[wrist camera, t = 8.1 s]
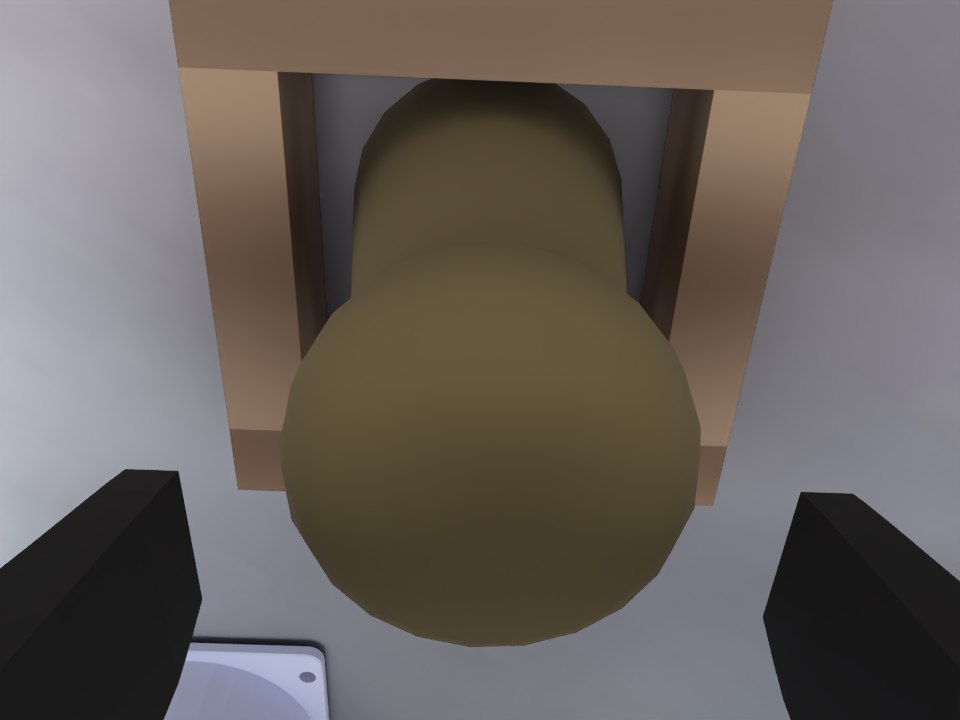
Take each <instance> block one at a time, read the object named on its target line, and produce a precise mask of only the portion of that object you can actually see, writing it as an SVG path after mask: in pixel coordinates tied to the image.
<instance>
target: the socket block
mask: <svg viewBox="0 0 960 720" xmlns="http://www.w3.org/2000/svg"><path fill="white" fill-rule="evenodd" d="M169 4H170V11H171V18H172V26H173V33H174V40H175V47H176V54H177V61H178V68H179V75H180V82H181V89H182V96H183V103H184V110H185V117H186V125H187V132H188V139H189V146H190V153H191V160H192V167H193V174H194V181H195V188H196V195H197V202H198V209H199V217H200V224H201V231H202V238H203V245H204V252H205V259H206V266H207V273H208V280H209V287H210V294H211V301H212V308H213V316H214V323H215V330H216V337H217V344H218V351H219V358H220V365H221V372H222V379H223V386H224V393H225V400H226V408H227V415H228V422H229V429H230V436H231V443H232V450H233V457H234V464H235V471H236V478H237V485H238V490H267V491H286V489H285V485H284V480H283V475H282V470H281V447H280V440H281V434H282V429H283V424H284V419H285V413H286V408H287V403H288V397H289V392H290V387H291V385H292V382H293V380H294V377H295V375H296V373H297V370H298V368H299V366H300V363H301V361H302V360H303V358H304V357H305V355H306V354H307V352H308V350H309V349H310V347H311V346H312V344H313V343H314V341H315V340H316V338H317V336H318V335H319V333H320V332H321V330H322V329H323V327H324V325H325V324H326V322H327V312H326V296H325V280H324V264H323V248H322V232H321V216H320V200H319V184H318V168H317V152H316V136H315V120H314V104H313V88H312V73H324V74H348V75H371V76H395V77H419V78H442V79H466V80H490V81H514V82H537V83H561V84H585V85H608V86H632V87H656V88H674V92H673V98H672V105H671V111H670V118H669V124H668V131H667V137H666V144H665V150H664V156H663V163H662V169H661V176H660V182H659V189H658V195H657V202H656V208H655V214H654V221H653V227H652V234H651V240H650V247H649V253H648V260H647V266H646V272H645V279H644V285H643V292H642V298H641V307H642V308H643V309H644V310H645V312H646V313H647V314H648V316H649V317H650V318H651V320H652V321H653V322H654V323H655V325H656V326H657V327H658V329H659V330H660V331H661V332H662V334H663V335H664V336H665V338H666V339H667V340H668V342H669V343H670V344H671V345H672V347H673V348H674V349H675V352H676V354H677V356H678V358H679V361H680V363H681V365H682V367H683V369H684V372H685V374H686V377H687V381H688V384H689V388H690V391H691V395H692V398H693V402H694V405H695V409H696V412H697V416H698V419H699V423H700V426H701V446H700V463H699V472H698V480H697V489H696V498H695V505H706V506H713V503H714V499H715V495H716V491H717V487H718V482H719V478H720V474H721V470H722V466H723V461H724V457H725V453H726V449H727V445H728V440H729V436H730V432H731V428H732V424H733V420H734V415H735V411H736V407H737V403H738V399H739V394H740V390H741V386H742V382H743V378H744V373H745V369H746V365H747V361H748V357H749V352H750V348H751V344H752V340H753V336H754V331H755V327H756V323H757V319H758V315H759V311H760V306H761V302H762V298H763V294H764V290H765V285H766V281H767V277H768V273H769V269H770V264H771V260H772V256H773V252H774V248H775V243H776V239H777V235H778V231H779V227H780V223H781V218H782V214H783V210H784V206H785V202H786V197H787V193H788V189H789V185H790V181H791V176H792V172H793V168H794V164H795V160H796V155H797V151H798V147H799V143H800V139H801V135H802V130H803V126H804V122H805V118H806V114H807V109H808V105H809V101H810V97H811V93H812V88H813V84H814V80H815V76H816V72H817V67H818V63H819V59H820V55H821V51H822V46H823V42H824V38H825V34H826V30H827V26H828V21H829V17H830V13H831V9H832V5H833V0H169Z"/></svg>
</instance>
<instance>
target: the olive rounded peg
mask: <svg viewBox="0 0 960 720" xmlns="http://www.w3.org/2000/svg"><path fill="white" fill-rule="evenodd" d="M700 446H701V426H700V423H699V419H698V416H697V412H696V409H695V405H694V402H693V398H692V395H691V391H690V388H689V384H688V381H687V377H686V374H685V372H684V369H683V367H682V365H681V363H680V361H679V358H678V356H677V354H676V352H675V349H674V348H673V347H672V345H671V344H670V343H669V342H668V340H667V339H666V338H665V336H664V335H663V334H662V332H661V331H660V330H659V329H658V327H657V326H656V325H655V323H654V322H653V321H652V320H651V318H650V317H649V316H648V314H647V313H646V312H645V310H644V309H643V308H642V307H641V305H640V304H639V303H638V302H637V301H636V300H635V299H633V298H632V297H631V296H629V295H628V294H627V285H626V266H625V247H624V227H623V208H622V188H621V177H620V174H619V171H618V167H617V164H616V160H615V157H614V153H613V150H612V147H611V143H610V140H609V138H608V137H607V135H606V134H605V132H604V131H603V130H602V128H601V127H600V125H599V124H598V123H597V121H596V120H595V118H594V117H593V116H592V114H591V113H590V111H589V110H588V109H587V107H586V106H585V104H583V103H582V102H580V101H579V100H578V99H576V98H575V97H573V96H572V95H571V94H569V93H568V92H566V91H565V90H564V89H562V88H561V87H559V86H558V85H557V84H555V83H537V82H514V81H490V80H466V79H442V78H433V79H431V80H428V81H425V82H423V83H420V84H418V85H417V86H415V87H414V88H413V89H412V90H411V91H410V92H408V93H407V94H406V95H405V96H404V97H402V98H401V99H400V100H399V101H398V102H397V103H395V104H394V105H393V106H392V107H391V108H390V109H388V110H387V111H386V112H385V113H384V114H383V116H382V118H381V119H380V121H379V123H378V124H377V126H376V128H375V129H374V131H373V133H372V135H371V136H370V138H369V140H368V141H367V143H366V145H365V146H364V148H363V150H362V155H361V160H360V165H359V170H358V174H357V179H356V184H355V189H354V215H353V246H352V277H351V298H350V299H349V300H348V301H347V302H345V303H344V304H343V305H342V306H341V307H339V308H338V309H337V310H336V311H335V312H333V313H332V315H331V316H330V318H329V319H328V321H327V322H326V324H325V325H324V327H323V329H322V330H321V332H320V333H319V335H318V336H317V338H316V340H315V341H314V343H313V344H312V346H311V347H310V349H309V350H308V352H307V354H306V355H305V357H304V358H303V360H302V361H301V363H300V366H299V368H298V370H297V373H296V375H295V377H294V380H293V382H292V385H291V387H290V392H289V397H288V403H287V408H286V413H285V419H284V424H283V429H282V434H281V440H280V447H281V470H282V475H283V480H284V485H285V489H286V494H287V499H288V504H289V509H290V513H291V518H292V521H293V523H294V524H295V526H296V527H297V529H298V531H299V532H300V534H301V536H302V537H303V539H304V540H305V542H306V544H307V545H308V547H309V548H310V550H311V552H312V553H313V555H314V556H315V558H316V559H317V561H318V563H319V564H320V566H321V567H322V569H323V570H324V572H325V573H326V575H327V577H328V578H329V580H330V581H331V583H332V584H333V585H334V586H335V587H337V588H338V589H339V590H340V591H342V592H343V593H344V594H345V595H346V596H348V597H349V598H350V599H351V600H352V601H354V602H355V603H356V604H357V605H359V606H360V607H361V608H362V609H363V610H365V611H366V612H367V613H368V614H369V615H371V616H373V617H375V618H378V619H380V620H382V621H384V622H386V623H389V624H391V625H393V626H395V627H397V628H400V629H402V630H404V631H406V632H409V633H411V634H413V635H415V636H417V637H422V638H427V639H432V640H437V641H443V642H448V643H453V644H458V645H463V646H468V647H484V646H524V645H528V644H532V643H536V642H540V641H544V640H548V639H552V638H556V637H560V636H564V635H568V634H572V633H576V632H578V631H580V630H582V629H583V628H585V627H587V626H589V625H591V624H593V623H595V622H597V621H599V620H601V619H603V618H605V617H606V616H608V615H610V614H612V613H614V612H616V611H618V610H620V609H622V608H623V607H624V606H625V605H626V604H627V603H628V602H629V601H630V600H631V599H632V598H633V597H634V596H635V595H636V594H638V593H639V592H640V591H641V590H642V589H643V588H644V587H645V586H646V585H647V584H648V583H649V582H650V581H651V580H652V579H653V578H655V577H656V576H657V575H658V573H659V571H660V570H661V568H662V566H663V565H664V563H665V561H666V560H667V558H668V556H669V554H670V553H671V551H672V549H673V547H674V545H675V543H676V541H677V540H678V538H679V536H680V534H681V532H682V530H683V528H684V526H685V525H686V523H687V521H688V519H689V517H690V515H691V513H692V511H693V510H694V506H695V498H696V489H697V480H698V472H699V463H700Z"/></svg>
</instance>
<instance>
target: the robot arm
mask: <svg viewBox="0 0 960 720" xmlns="http://www.w3.org/2000/svg"><path fill="white" fill-rule="evenodd" d="M201 602H202V595H201V590H200V585H199V579H198V574H197V569H196V563H195V558H194V553H193V547H192V542H191V536H190V531H189V526H188V520H187V515H186V510H185V504H184V499H183V494H182V488H181V483H180V477H179V472H178V471H163V470H133V469H125V470H124V471H122V472H121V473H120V474H118V475H117V476H116V477H114V478H113V479H112V480H110V481H109V482H108V483H106V484H105V485H104V486H103V487H101V488H100V489H99V490H98V491H96V492H95V493H94V494H93V495H91V496H90V497H89V498H88V499H86V500H85V501H84V502H83V503H81V504H80V505H79V506H78V507H76V508H75V509H74V510H73V511H72V512H70V513H69V514H68V515H67V516H65V517H64V518H63V519H62V520H60V521H59V522H58V523H57V524H55V525H54V526H53V527H52V528H51V529H49V530H48V531H47V532H46V533H44V534H43V535H42V536H41V537H39V538H38V539H37V540H36V541H34V542H33V543H32V544H31V545H29V546H28V547H27V548H26V549H24V550H23V551H22V552H20V553H19V554H18V555H17V556H15V557H14V558H13V559H12V560H10V561H9V562H8V563H7V564H5V565H4V566H3V567H1V568H0V720H330V719H329V707H328V695H327V683H326V671H325V659H324V656H323V653H322V652H320V651H319V650H318V649H316V648H314V647H309V646H279V645H247V644H215V643H191V639H192V636H193V632H194V628H195V624H196V621H197V617H198V613H199V609H200V606H201ZM763 620H764V624H765V628H766V632H767V637H768V641H769V645H770V649H771V654H772V658H773V662H774V666H775V670H776V674H777V677H778V681H779V685H780V689H781V692H782V696H783V700H784V703H785V705H786V708H787V711H788V714H789V716H790V719H791V720H960V581H959V580H957V579H956V578H955V577H954V576H953V575H951V574H950V573H949V572H948V571H947V570H946V569H944V568H943V567H942V566H941V565H940V564H938V563H937V562H936V561H935V560H934V559H932V558H931V557H930V556H929V555H928V554H926V553H925V552H924V551H923V550H922V549H921V548H919V547H918V546H917V545H916V544H915V543H913V542H912V541H911V540H910V539H909V538H907V537H906V536H905V535H904V534H903V533H901V532H900V531H899V530H898V529H897V528H895V527H894V526H893V525H892V524H891V523H889V522H888V521H887V520H886V519H885V518H883V517H882V516H881V515H880V514H878V513H877V512H876V511H875V510H873V509H872V508H871V507H870V506H868V505H867V504H866V503H865V502H863V501H862V500H861V499H859V498H858V497H857V496H855V495H854V494H844V493H814V492H801V493H800V496H799V500H798V503H797V506H796V510H795V513H794V516H793V519H792V523H791V526H790V529H789V533H788V536H787V539H786V542H785V546H784V549H783V552H782V556H781V559H780V562H779V565H778V569H777V572H776V575H775V579H774V582H773V585H772V588H771V592H770V595H769V598H768V602H767V605H766V608H765V611H764V615H763Z"/></svg>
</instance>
